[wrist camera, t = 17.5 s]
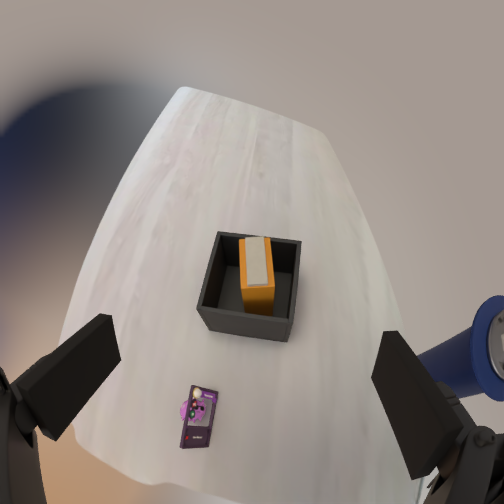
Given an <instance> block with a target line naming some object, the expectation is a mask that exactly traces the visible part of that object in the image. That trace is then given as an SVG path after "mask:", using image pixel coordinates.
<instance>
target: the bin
mask: <svg viewBox="0 0 504 504" xmlns="http://www.w3.org/2000/svg"><path fill="white" fill-rule="evenodd" d="M246 237H261V236H255V235H246V234H237V233H228V232H219V231H218V232H217V235H216V239H215V242H214V246H213V249H212V253H211V256H210V260H209V263H208V267H207V271H206V274H205V278H204V282H203V285H202V289H201V293H200V297H199V300H198V304H197V308H196V309H197V311H198V313H199V314H200V316H201V318H202V319H203V321H204V322H205V324H206V326H207V327H208V329H209V330H210V331H216V332H222V333H227V334H233V335H239V336H246V337H252V338H259V339H266V340H273V341H281V342H287V340H288V338H289V335H290V331H291V328H292V325H293V320H294V312H295V303H296V294H297V285H298V275H299V265H300V254H301V243H302V241H296V240H288V239H280V238H271V237H270V243H271V252H272V262H273V271H274V281H275V292H274V304H273V315H272V317H271V316H264V315H257V314H250V313H245V310H244V304H243V298H242V293H241V282H240V255H239V239H245V238H246ZM264 238H268V237H264Z"/></svg>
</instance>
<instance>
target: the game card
mask: <svg viewBox="0 0 504 504" xmlns="http://www.w3.org/2000/svg"><path fill="white" fill-rule="evenodd" d="M217 396H218V392H217V391H213V390H209V389H206V388H202V387H198V386H195V385H191V389H190V394H189V399H188V400H187V401H185V402H184V403H183V405H182V406H181V409H180V414H181V416H182V417H181V419H182V421H183V420H184V419H185V420H184V425H183V431H182V436H181V442H180V448H182V449H187V448H204V447H208V446H209V441H210V435H211V430H212V424H213V419H214V413H215V407H216V402H217ZM193 397H194V399H192V398H193ZM199 397H202V398H208V399H211V400H212V402H213V404H212V410H211V415H210V421H209V426H208V427H205V426H188V425H187V424H188V421H193V422H194V423H195V420H196V419H199V420H200V421H201V418H202V416H203V415H204V414H205V408H206V407H205V406H206V404H205V405H204V403H203V402H204V399H203V400H202V402H200V401H198V400H196V399H197V398H199Z"/></svg>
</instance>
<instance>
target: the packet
mask: <svg viewBox="0 0 504 504" xmlns="http://www.w3.org/2000/svg"><path fill="white" fill-rule="evenodd" d="M239 255H240V282H241V293H242V298H243V304H244V310H245V313H250V314H257V315H264V316H271V317H272V315H273V304H274V292H275V281H274V271H273V262H272V252H271V243H270V237H268V238H264V236H261V237H246V238H245V239H239Z"/></svg>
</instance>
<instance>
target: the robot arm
mask: <svg viewBox="0 0 504 504" xmlns="http://www.w3.org/2000/svg"><path fill="white" fill-rule="evenodd" d="M486 351H487V357H488V361H489V364H490V367H491V369H492V371H493V373H494V374H495V375H496V377H497V378H499V379H500V380H501V381H504V310H502V311H501V312H499V313H497V314H496V315H495V316H494V317H493V318H492V320H491V322H490V324H489V326H488V330H487V335H486ZM120 361H121V357H120V353H119V349H118V344H117V340H116V335H115V330H114V325H113V320H112V315H106V314H99V315H97V316H96V317H95V318H94V319H92V320H91V321H90V322H88V323H87V324H86V325H85V326H84V327H82V328H81V329H80V330H79V331H77V332H76V333H75V334H74V335H72V336H71V337H70V338H69V339H68V340H66V341H65V342H64V343H63V344H62V345H60V346H59V347H58V348H57V349H56V350H54V351H53V352H52V353H50V354H48V355H46V356H44V357H42V358H40V359H39V360H38V361H37V362H36V363H35V365H32V366H31V367H30V368H29V369H28V370H26V371H25V372H24V373H23V374H22V375H20V376H19V377H18V378H17V379H16V380H15V381H14V382H12V383H11V384H9V382H8V380H7V378H6V375H5V373H4V371H3V369H2V368H1V367H0V504H47V502H46V497H45V493H44V487H43V482H42V476H41V469H40V462H39V453H38V443H37V434H36V431H35V430H34V429H35V427H36V426H37V425H38V427H39V428H40V430H41V432H42V433H43V435H45V436H47V437H49V438H50V439H52V440H54V441H57V440H58V438H59V437H60V436H61V435H62V433H63V432H64V431H65V429H66V428H67V427H68V426H69V424H70V423H71V422H72V420H73V419H74V418H75V417H76V415H77V414H78V413H79V412H80V410H81V409H82V408H83V407H84V405H85V404H86V403H87V402H88V400H89V399H90V398H91V397H92V395H93V394H94V393H95V392H96V390H97V389H98V388H99V387H100V385H101V384H102V383H103V382H104V381H105V379H106V378H107V377H108V376H109V374H110V373H111V372H112V371H113V370H114V368H115V367H116V366H117V365H118V364H119V362H120ZM371 379H372V381H373V383H374V386H375V388H376V390H377V393H378V395H379V397H380V400H381V402H382V404H383V407H384V409H385V412H386V414H387V417H388V419H389V421H390V424H391V426H392V429H393V431H394V434H395V437H396V439H397V442H398V444H399V447H400V449H401V452H402V455H403V457H404V460H405V463H406V466H407V468H408V471H409V474H410V477H411V480H414V479H418V478H421V477H424V476H428V475H430V473H431V472H432V471H433V470H434V468H435V467H436V466H437V468H438V470H439V473H438V474H437V476H436V477H435V478H434V479H433V480H432V481H431V482H430V484H429V485H428V486H427V488H430V486H431V485H432V486H431V489H430V491H429V493H428V495H427V497H426V499H425V501H424V503H423V504H504V433H503V434H495V432H494V431H493V430H492V429H490V428H488V427H486V426H477V425H476V424H475V422H474V421H473V419H472V418H471V416H470V415H469V414H468V412H467V411H466V409H465V408H464V406H463V405H462V404H460V400H459V399H458V398H457V397H456V395H455V393H454V392H453V391H452V389H451V388H450V387H449V386H447V385H446V384H445V383H443V382H442V381H440V382H435V381H434V380H433V379H432V377H431V376H430V374H429V373H428V371H427V370H426V369H425V367H424V366H423V364H422V363H421V362H420V360H419V359H418V358H417V356H416V355H415V354H414V352H413V351H412V349H411V348H410V347H409V345H408V344H407V343H406V341H405V340H404V339H403V337H402V336H401V335H400V333H399V332H398V331H383V335H382V339H381V343H380V347H379V351H378V355H377V359H376V362H375V366H374V369H373V373H372V376H371Z"/></svg>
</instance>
